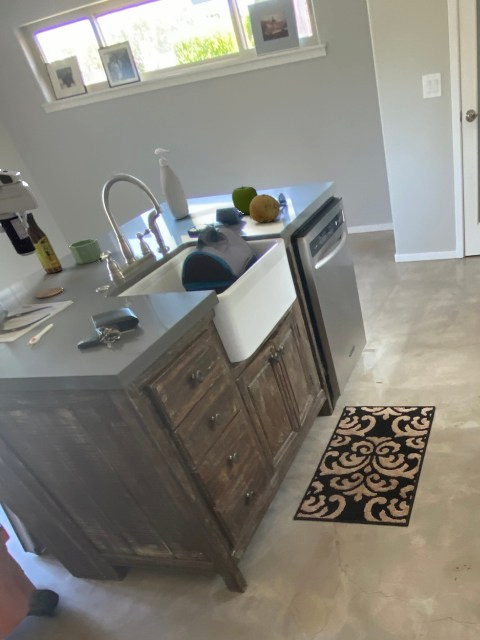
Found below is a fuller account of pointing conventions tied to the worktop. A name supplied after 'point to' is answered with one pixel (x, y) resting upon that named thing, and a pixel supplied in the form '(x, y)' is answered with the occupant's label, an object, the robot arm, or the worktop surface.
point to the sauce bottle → (42, 246)
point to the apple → (243, 198)
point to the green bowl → (86, 251)
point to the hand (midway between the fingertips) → (15, 230)
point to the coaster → (49, 292)
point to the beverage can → (17, 234)
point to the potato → (264, 208)
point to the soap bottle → (172, 188)
